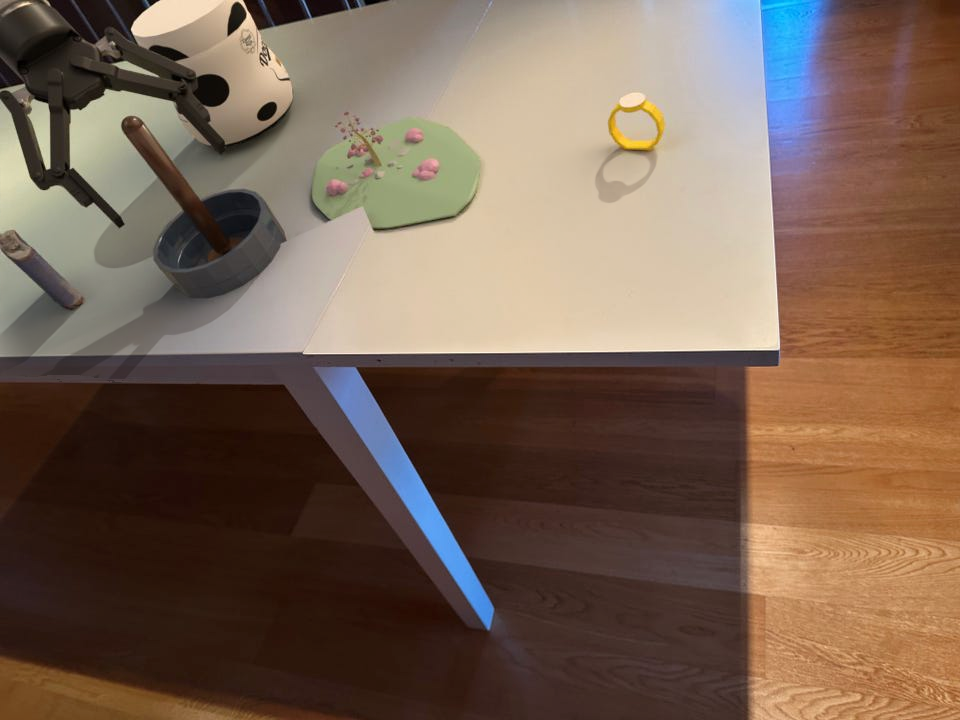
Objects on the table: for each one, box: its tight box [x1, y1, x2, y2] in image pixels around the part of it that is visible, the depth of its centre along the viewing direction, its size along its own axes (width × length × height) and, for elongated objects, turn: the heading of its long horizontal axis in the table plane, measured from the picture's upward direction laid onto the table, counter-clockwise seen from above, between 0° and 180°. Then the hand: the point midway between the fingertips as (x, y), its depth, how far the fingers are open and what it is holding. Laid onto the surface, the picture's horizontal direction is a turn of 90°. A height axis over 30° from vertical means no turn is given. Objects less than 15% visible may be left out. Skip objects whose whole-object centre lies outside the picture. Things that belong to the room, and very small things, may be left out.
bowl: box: [152, 188, 288, 299], centre depth 79 cm, size 14×14×6 cm
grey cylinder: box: [0, 229, 84, 310], centre depth 84 cm, size 9×3×11 cm, turn 47°
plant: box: [311, 110, 482, 230], centre depth 81 cm, size 25×21×9 cm
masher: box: [120, 115, 244, 263], centre depth 73 cm, size 5×5×20 cm
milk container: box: [130, 0, 294, 148], centre depth 97 cm, size 17×17×18 cm
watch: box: [607, 92, 666, 152], centre depth 73 cm, size 6×3×6 cm, turn 61°
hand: (173, 184), depth 72 cm, fingers open, 13 cm apart
